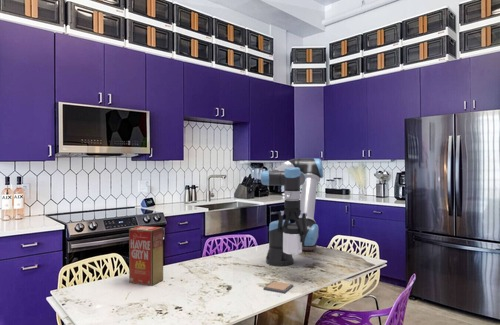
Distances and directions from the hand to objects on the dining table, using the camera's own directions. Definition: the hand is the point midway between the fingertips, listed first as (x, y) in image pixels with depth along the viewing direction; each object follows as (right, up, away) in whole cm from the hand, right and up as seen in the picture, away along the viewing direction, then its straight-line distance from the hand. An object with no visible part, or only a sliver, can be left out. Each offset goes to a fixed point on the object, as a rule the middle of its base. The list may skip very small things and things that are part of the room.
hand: (292, 247), depth 170 cm
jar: (0, -2, 0) cm, 2 cm away
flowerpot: (+16, -15, +58) cm, 62 cm away
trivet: (-7, -15, -12) cm, 21 cm away
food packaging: (-69, -15, -3) cm, 70 cm away
